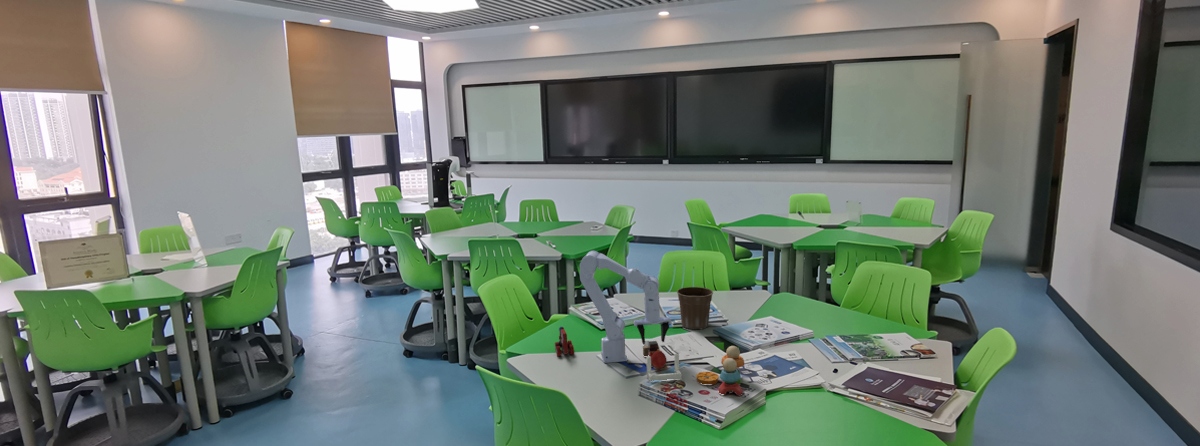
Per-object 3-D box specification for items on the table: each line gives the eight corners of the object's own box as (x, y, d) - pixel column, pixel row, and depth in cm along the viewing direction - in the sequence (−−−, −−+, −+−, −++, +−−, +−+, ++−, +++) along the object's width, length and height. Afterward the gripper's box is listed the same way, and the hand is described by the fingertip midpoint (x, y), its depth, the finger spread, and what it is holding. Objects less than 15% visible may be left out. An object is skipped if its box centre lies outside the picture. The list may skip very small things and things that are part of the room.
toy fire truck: (570, 346, 249) (569, 323, 247) (575, 357, 237) (573, 332, 235) (554, 348, 248) (552, 324, 246) (557, 359, 236) (556, 334, 234)
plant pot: (718, 322, 271) (718, 288, 269) (705, 333, 258) (704, 298, 255) (686, 318, 280) (685, 285, 277) (671, 328, 266) (670, 293, 264)
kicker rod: (650, 365, 226) (649, 347, 225) (640, 347, 245) (640, 331, 243) (662, 364, 226) (661, 346, 225) (651, 346, 245) (651, 330, 244)
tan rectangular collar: (644, 357, 233) (644, 348, 233) (643, 355, 236) (642, 345, 235) (659, 356, 234) (659, 346, 234) (658, 354, 237) (658, 344, 236)
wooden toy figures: (694, 375, 215) (693, 343, 213) (742, 374, 214) (741, 342, 212) (700, 398, 197) (700, 362, 195) (752, 397, 196) (752, 361, 194)
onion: (650, 366, 224) (649, 346, 223) (664, 365, 225) (664, 345, 224) (652, 372, 219) (652, 352, 217) (668, 371, 219) (667, 351, 218)
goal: (649, 383, 210) (648, 361, 209) (646, 377, 215) (646, 356, 214) (682, 380, 211) (681, 358, 210) (678, 374, 216) (678, 353, 215)
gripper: (635, 313, 223) (636, 347, 225) (672, 310, 225) (673, 344, 227) (632, 307, 230) (633, 341, 232) (668, 304, 232) (669, 337, 234)
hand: (653, 342), depth 230 cm, fingers open, 7 cm apart
